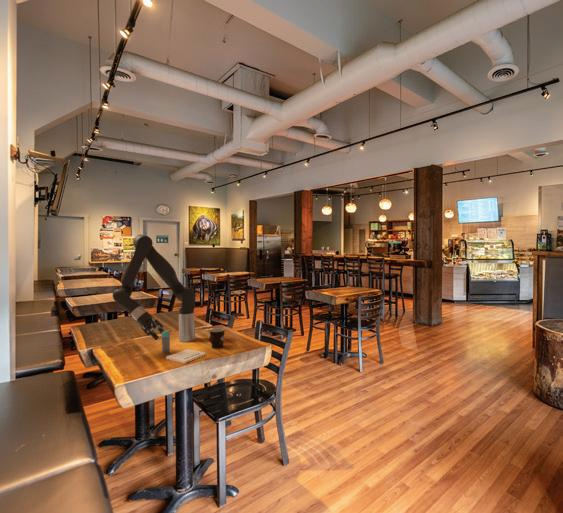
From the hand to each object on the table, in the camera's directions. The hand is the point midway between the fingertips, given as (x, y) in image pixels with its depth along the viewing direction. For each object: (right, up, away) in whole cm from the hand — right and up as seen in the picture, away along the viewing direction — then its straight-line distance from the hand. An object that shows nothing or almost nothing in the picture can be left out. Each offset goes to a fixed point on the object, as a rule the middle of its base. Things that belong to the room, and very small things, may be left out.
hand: (161, 336), depth 181 cm
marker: (+3, -9, 0) cm, 9 cm away
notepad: (+16, -9, -7) cm, 20 cm away
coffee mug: (+28, -9, +9) cm, 31 cm away
